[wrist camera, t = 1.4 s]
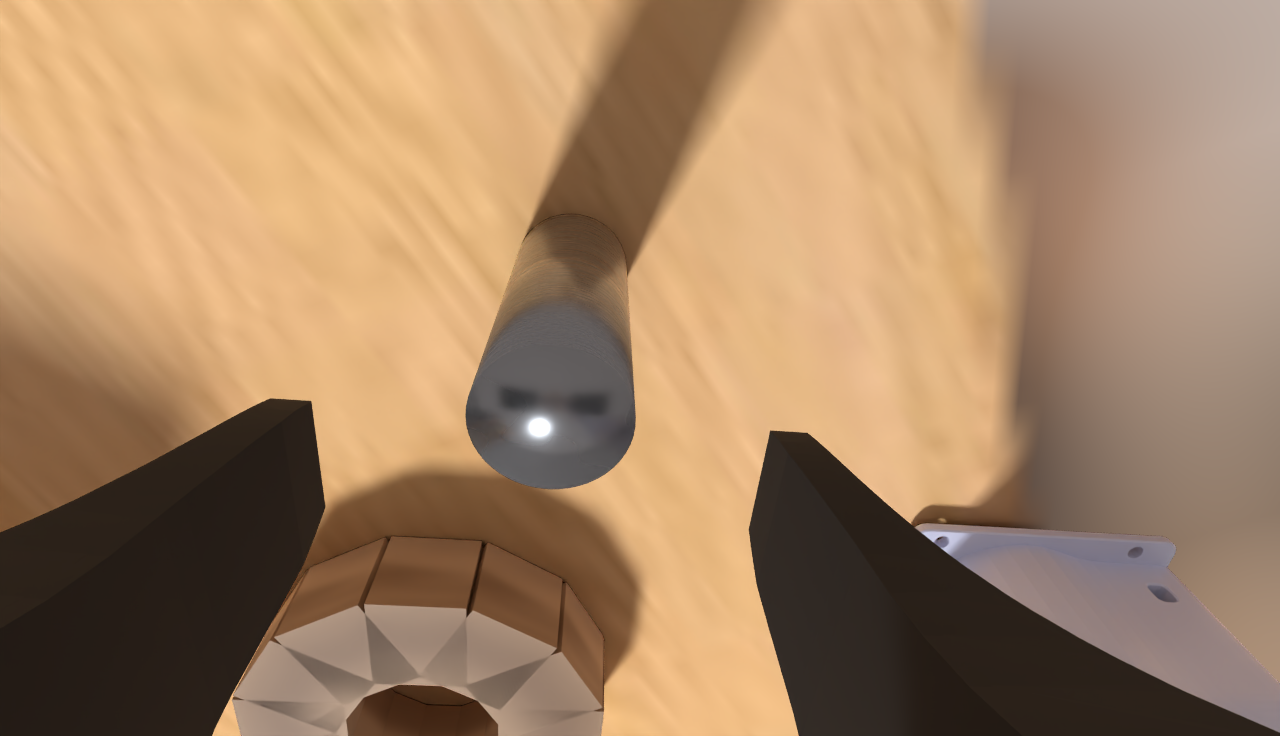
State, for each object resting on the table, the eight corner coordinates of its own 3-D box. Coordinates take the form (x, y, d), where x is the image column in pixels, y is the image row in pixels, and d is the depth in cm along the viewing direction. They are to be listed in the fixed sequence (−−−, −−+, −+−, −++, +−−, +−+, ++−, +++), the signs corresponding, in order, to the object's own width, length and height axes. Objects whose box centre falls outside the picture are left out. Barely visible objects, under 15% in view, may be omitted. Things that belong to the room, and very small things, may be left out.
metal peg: (631, 218, 19) (643, 352, 12) (621, 320, 21) (627, 493, 13) (518, 209, 19) (464, 338, 12) (516, 312, 20) (466, 484, 13)
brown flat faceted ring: (614, 547, 24) (614, 615, 22) (590, 765, 30) (589, 840, 27) (252, 529, 24) (206, 597, 21) (296, 757, 29) (265, 834, 26)
